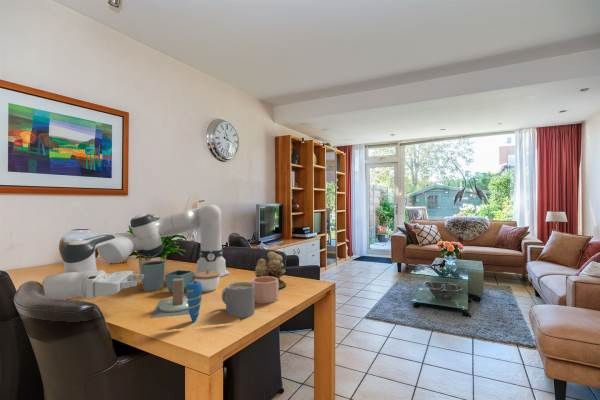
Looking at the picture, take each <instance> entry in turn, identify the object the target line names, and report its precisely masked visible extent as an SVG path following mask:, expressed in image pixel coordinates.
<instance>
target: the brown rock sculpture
mask: <svg viewBox="0 0 600 400" xmlns="http://www.w3.org/2000/svg"><path fill="white" fill-rule="evenodd" d="M266 255H267V258H268V261H267V260H266V259H264V258H260V259H258V260H257V262H256V266H255V271H254V276H255V278H256V277H264V276H269V277H276V278H278V280H279V291H281V290H283V289H285V288H286V286H287V283H286V282H285V281H284V280H282V279H281V277H283V276H284V275H285V273H286V270H285V268H284V263H283V257H282V255H280V254H277V253H276V252H274V251H269V252H268V253H267V254H266Z"/></svg>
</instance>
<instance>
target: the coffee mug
mask: <svg viewBox="0 0 600 400" xmlns="http://www.w3.org/2000/svg"><path fill="white" fill-rule="evenodd" d="M221 298H222V299H221V301H222V302H223V303H224V304H225V313H226V315H227V316H229V317H237V318H238V317H239V319H246V318H250V317H252V316H254V314H255V303H254V284H253V283H251V281H250V282H249V281H248V282H247V281H238V282H232V283H228V284H227V285H225V288H223V289H222V292H221Z"/></svg>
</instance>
